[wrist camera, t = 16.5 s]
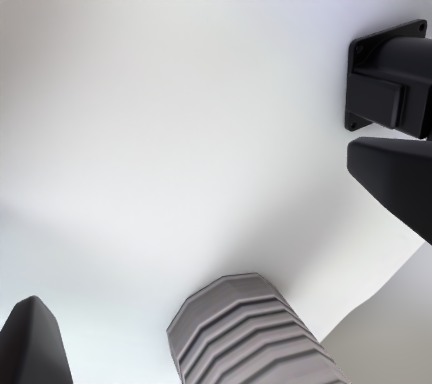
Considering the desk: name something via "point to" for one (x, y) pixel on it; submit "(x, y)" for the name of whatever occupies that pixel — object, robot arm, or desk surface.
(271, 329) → the can
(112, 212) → the desk surface
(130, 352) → the desk surface
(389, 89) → the robot arm
